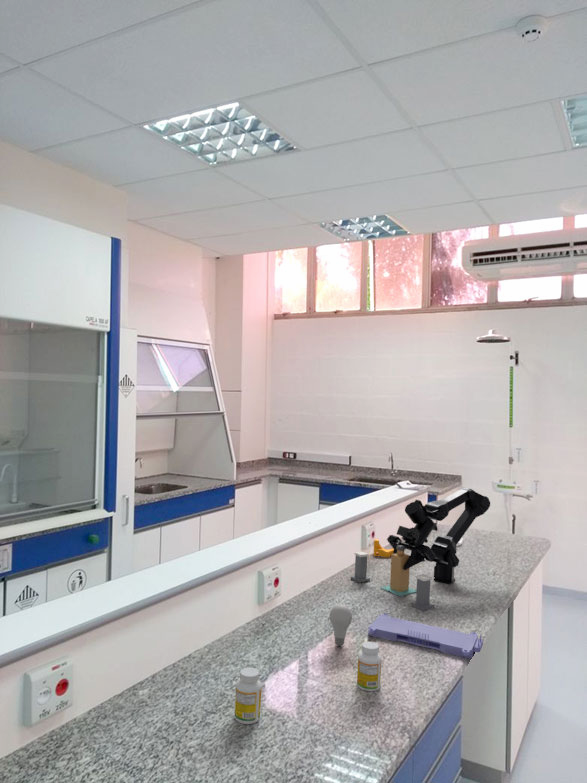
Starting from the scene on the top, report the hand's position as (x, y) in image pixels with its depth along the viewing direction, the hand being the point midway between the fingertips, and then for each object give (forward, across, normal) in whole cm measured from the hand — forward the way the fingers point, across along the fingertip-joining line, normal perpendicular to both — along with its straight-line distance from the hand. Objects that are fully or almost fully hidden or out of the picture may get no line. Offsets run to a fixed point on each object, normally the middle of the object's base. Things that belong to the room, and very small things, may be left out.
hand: (397, 567), depth 208 cm
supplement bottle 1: (+66, +42, -55) cm, 96 cm away
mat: (+5, 0, +7) cm, 8 cm away
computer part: (+22, +34, -10) cm, 41 cm away
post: (+8, +15, +4) cm, 17 cm away
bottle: (+5, 0, +7) cm, 8 cm away
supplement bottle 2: (+44, +45, -33) cm, 71 cm away
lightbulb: (+39, +24, -27) cm, 53 cm away
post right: (+8, -15, +4) cm, 17 cm away
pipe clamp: (-14, -34, +27) cm, 45 cm away
